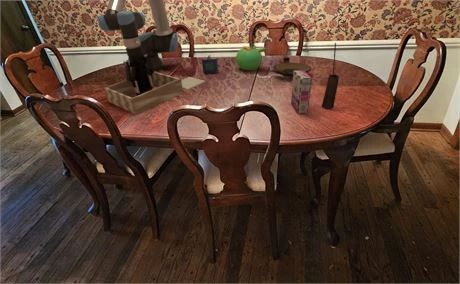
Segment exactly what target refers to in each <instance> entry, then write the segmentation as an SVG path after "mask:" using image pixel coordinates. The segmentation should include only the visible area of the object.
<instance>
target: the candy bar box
mask: <svg viewBox="0 0 460 284" xmlns="http://www.w3.org/2000/svg"><path fill="white" fill-rule="evenodd" d="M312 81H313V78H312V77H311V76H310V74H308V72H307V73H306V72H305V71H304V70H297V71H294V72H293V76H292V85H291V86H292V88H291V99H290V100H291V101H290V102H291V103H290V104H291V106H292V108H293V109H294V110H295V112H296V114H298V115H302V114H303V115H304V114H308V113H309V107H310V106H309V105H310V98H311V90H312V83H313V82H312Z"/></svg>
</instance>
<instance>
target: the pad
mask: <svg viewBox="0 0 460 284" xmlns="http://www.w3.org/2000/svg"><path fill="white" fill-rule="evenodd" d="M181 82H182V88H183V90H185V91H190V90H192V89H194V88H196V87H198V86H201V85H203V84H205V83H207V82H206V80H202V79H199V78H195V77H191V76H188V77H185V78H183V79H181Z"/></svg>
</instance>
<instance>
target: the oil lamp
mask: <svg viewBox="0 0 460 284" xmlns="http://www.w3.org/2000/svg"><path fill="white" fill-rule="evenodd" d="M290 58H291V57H289V56H288V55H287V53H283V62H281V63H276V64H274V65H273V67H272V69H271V70H272V72H274V73H275V74H278V75H280V76H283V77H293V72H294V71H297V70H304V71H305V72H306V73H307V74H308V73H309V72H310V71H311V70H312V67H311V65H308V64H306V63H301V62H290Z"/></svg>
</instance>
